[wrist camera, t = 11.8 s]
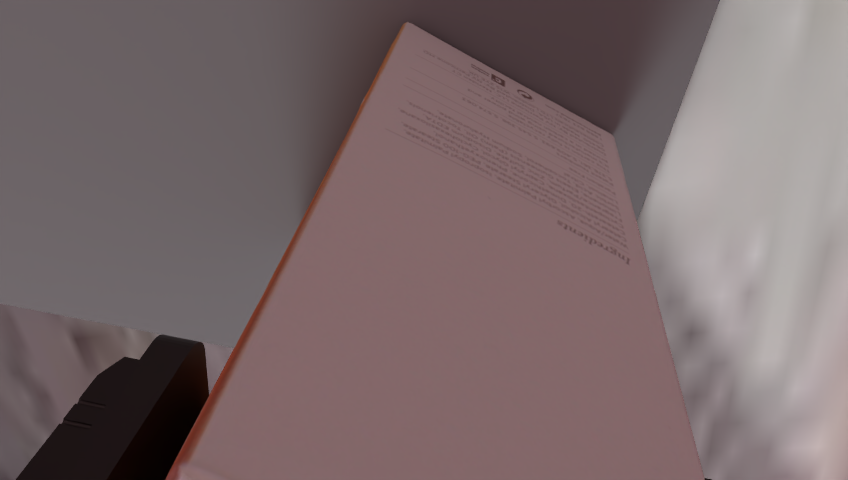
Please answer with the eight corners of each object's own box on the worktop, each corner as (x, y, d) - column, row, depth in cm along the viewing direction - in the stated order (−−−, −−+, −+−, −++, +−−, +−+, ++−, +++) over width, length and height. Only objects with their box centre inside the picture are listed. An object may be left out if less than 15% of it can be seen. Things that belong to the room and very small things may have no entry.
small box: (403, 13, 16) (164, 466, 5) (620, 132, 17) (794, 714, 6) (292, 244, 20) (40, 742, 10) (468, 327, 21) (417, 858, 11)
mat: (743, -88, 14) (751, -84, 14) (565, 397, 23) (565, 410, 23) (-196, -232, 15) (-220, -233, 15) (-13, 289, 24) (-24, 299, 24)
